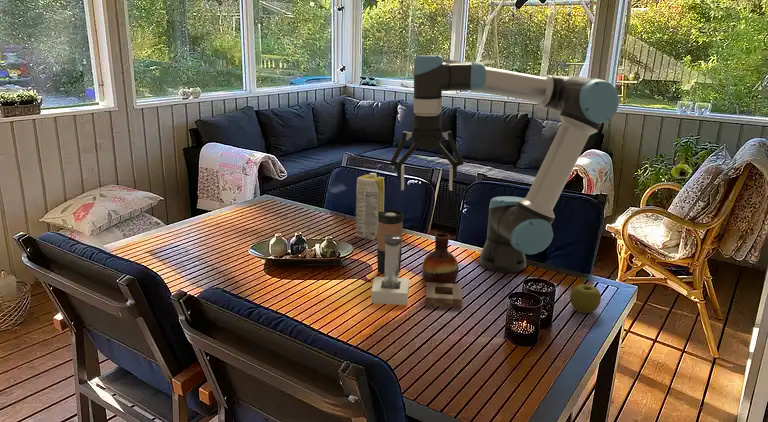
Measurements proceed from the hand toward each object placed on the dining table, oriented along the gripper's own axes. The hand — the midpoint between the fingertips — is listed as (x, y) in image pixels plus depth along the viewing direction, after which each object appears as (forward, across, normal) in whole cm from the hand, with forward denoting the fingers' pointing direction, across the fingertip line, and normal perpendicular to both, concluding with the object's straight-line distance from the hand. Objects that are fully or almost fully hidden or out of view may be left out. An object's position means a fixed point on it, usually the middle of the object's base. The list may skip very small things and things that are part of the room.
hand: (426, 189), depth 159 cm
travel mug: (+30, +12, -9) cm, 34 cm away
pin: (+28, +10, +9) cm, 32 cm away
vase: (+31, -4, -4) cm, 31 cm away
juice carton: (+30, +21, -42) cm, 56 cm away
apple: (+32, -44, +10) cm, 55 cm away
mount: (+31, -5, +9) cm, 32 cm away
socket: (+30, +10, +9) cm, 33 cm away
